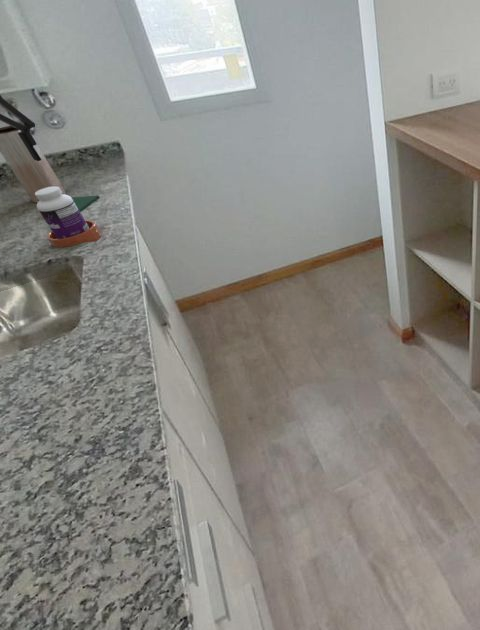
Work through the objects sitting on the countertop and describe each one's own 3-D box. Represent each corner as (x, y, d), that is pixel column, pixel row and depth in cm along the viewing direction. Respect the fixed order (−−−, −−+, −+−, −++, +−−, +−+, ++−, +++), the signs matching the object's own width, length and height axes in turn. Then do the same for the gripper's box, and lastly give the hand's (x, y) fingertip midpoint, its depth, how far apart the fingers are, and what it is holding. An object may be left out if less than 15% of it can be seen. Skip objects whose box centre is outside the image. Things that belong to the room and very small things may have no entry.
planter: (29, 205, 147) (-17, 135, 133) (36, 195, 155) (-7, 128, 141) (63, 198, 150) (21, 129, 136) (69, 189, 158) (29, 122, 143)
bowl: (44, 253, 119) (36, 241, 117) (70, 232, 128) (64, 221, 126) (86, 249, 118) (79, 238, 116) (109, 229, 128) (103, 218, 126)
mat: (42, 215, 140) (40, 213, 139) (65, 200, 149) (64, 198, 149) (78, 213, 139) (77, 210, 139) (99, 197, 149) (98, 195, 148)
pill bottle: (56, 242, 123) (23, 193, 114) (85, 230, 127) (56, 182, 119) (68, 249, 119) (35, 199, 110) (98, 236, 124) (69, 187, 115)
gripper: (-135, 84, 83) (-52, 191, 96) (14, 59, 99) (68, 154, 112) (-144, 82, 87) (-62, 186, 100) (1, 58, 102) (55, 150, 115)
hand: (7, 169), depth 106 cm, fingers open, 13 cm apart
